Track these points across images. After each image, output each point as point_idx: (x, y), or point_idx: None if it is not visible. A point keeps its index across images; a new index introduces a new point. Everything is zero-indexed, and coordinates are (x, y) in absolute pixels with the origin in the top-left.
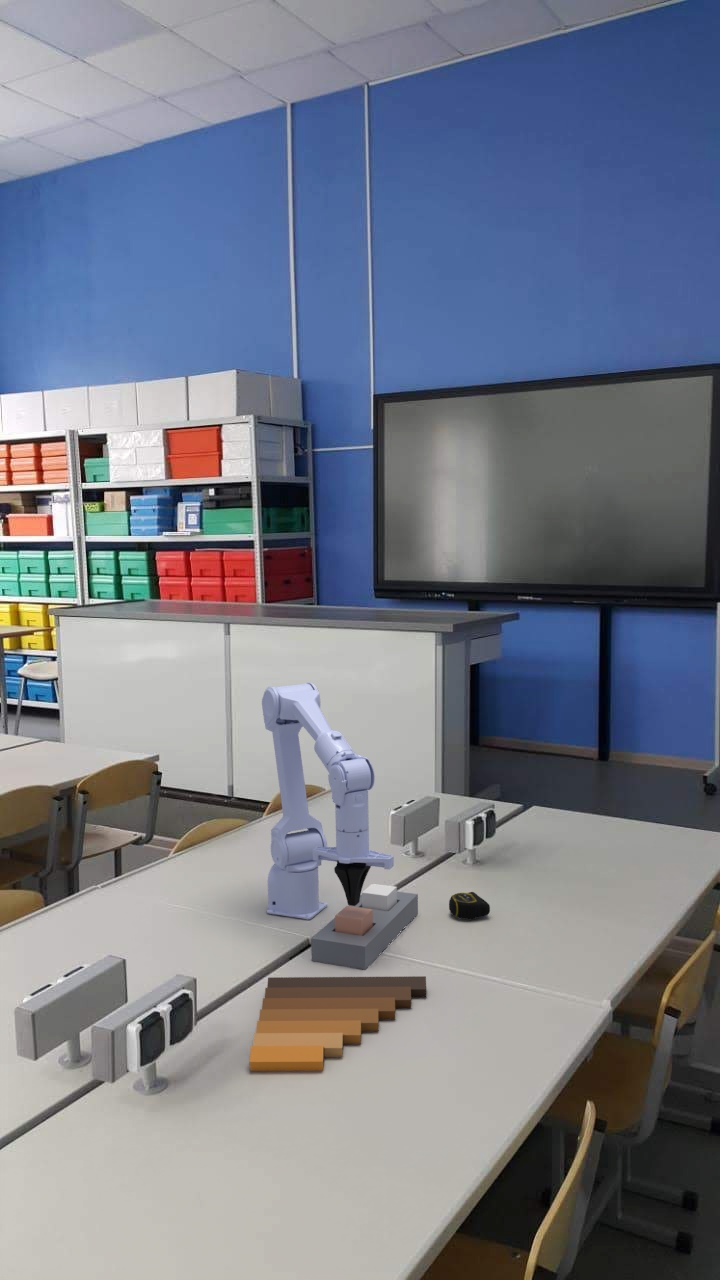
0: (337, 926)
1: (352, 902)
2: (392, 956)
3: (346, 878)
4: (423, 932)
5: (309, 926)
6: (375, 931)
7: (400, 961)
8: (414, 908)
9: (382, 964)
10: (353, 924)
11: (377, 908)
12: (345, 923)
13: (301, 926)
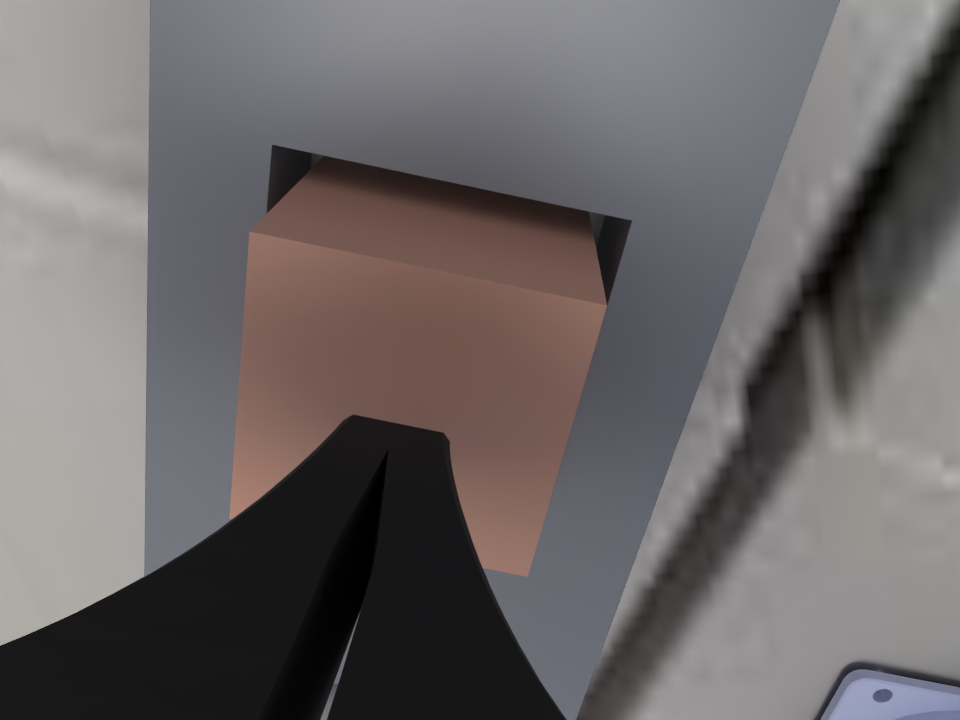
0: (571, 253)
1: (367, 435)
2: (121, 179)
3: (355, 700)
4: (69, 570)
5: (846, 585)
6: (192, 273)
7: (25, 93)
8: None
9: (141, 7)
10: (373, 227)
11: (332, 699)
12: (473, 248)
13: (905, 580)
